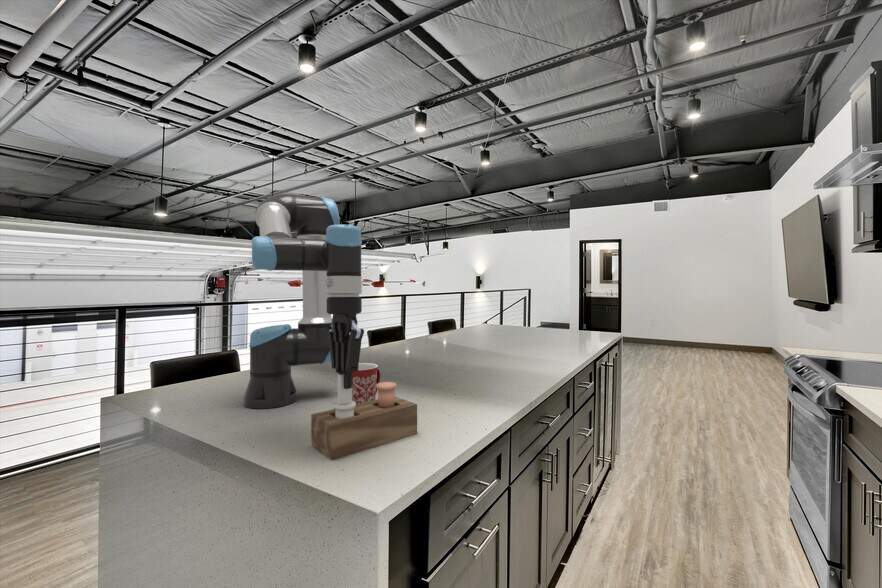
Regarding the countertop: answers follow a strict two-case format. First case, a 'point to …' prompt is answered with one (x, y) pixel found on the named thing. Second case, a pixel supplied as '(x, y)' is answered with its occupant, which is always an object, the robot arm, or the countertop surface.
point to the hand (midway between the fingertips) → (344, 402)
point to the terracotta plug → (386, 394)
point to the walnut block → (362, 427)
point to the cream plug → (344, 409)
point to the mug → (365, 382)
